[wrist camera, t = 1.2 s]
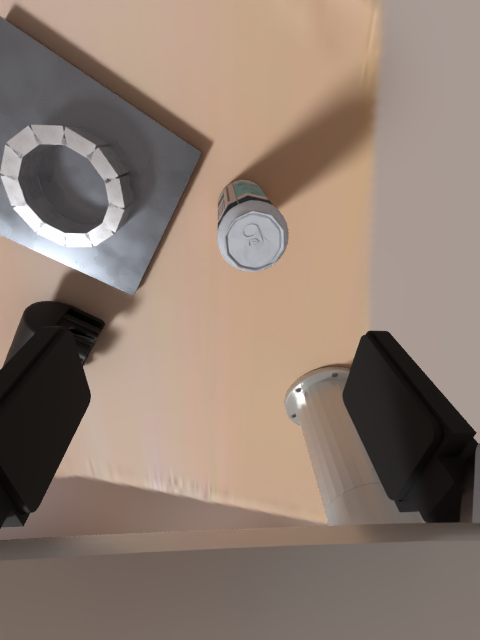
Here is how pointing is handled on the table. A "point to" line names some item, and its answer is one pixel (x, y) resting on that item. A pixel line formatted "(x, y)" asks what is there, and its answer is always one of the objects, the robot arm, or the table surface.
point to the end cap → (57, 315)
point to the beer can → (249, 227)
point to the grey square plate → (82, 166)
